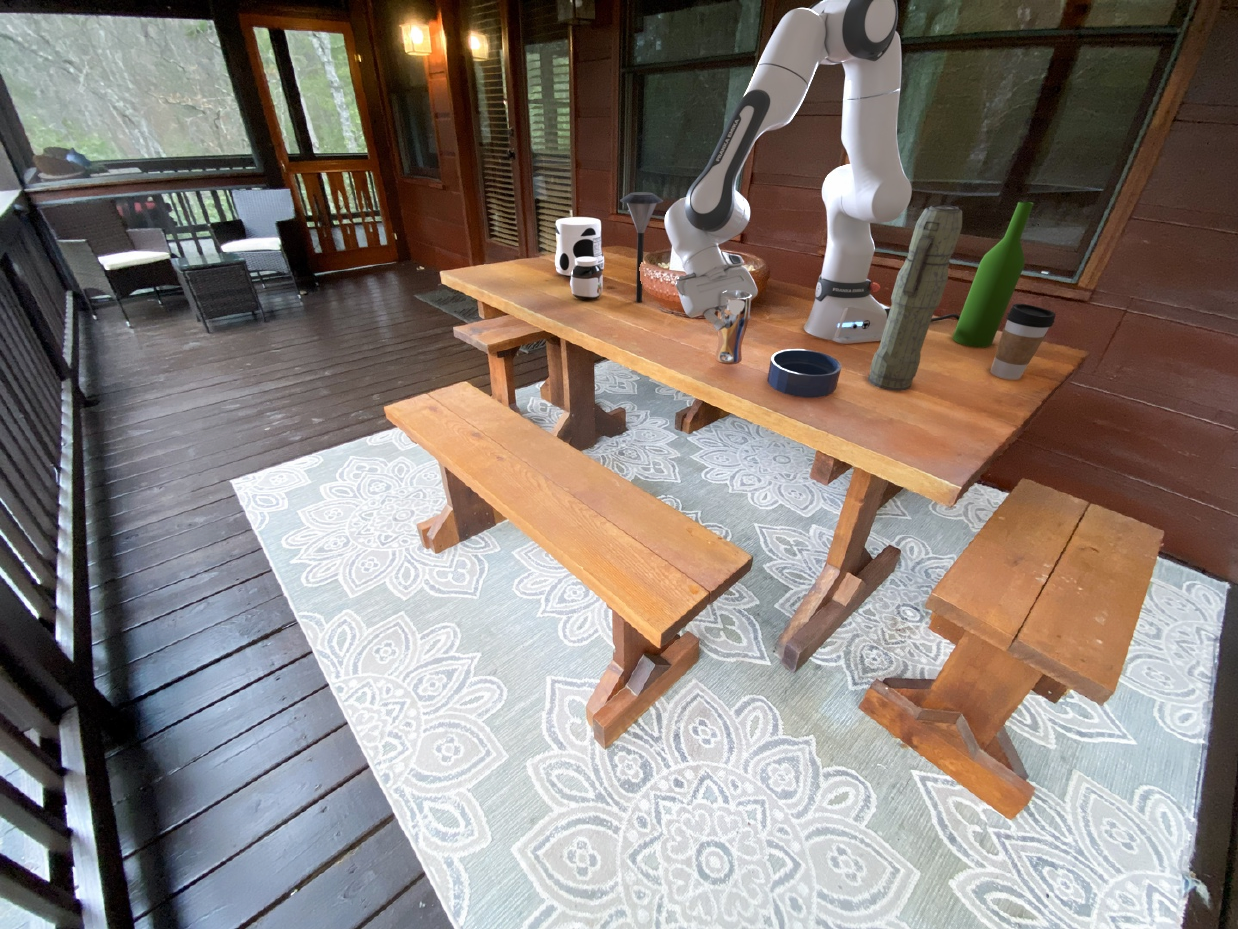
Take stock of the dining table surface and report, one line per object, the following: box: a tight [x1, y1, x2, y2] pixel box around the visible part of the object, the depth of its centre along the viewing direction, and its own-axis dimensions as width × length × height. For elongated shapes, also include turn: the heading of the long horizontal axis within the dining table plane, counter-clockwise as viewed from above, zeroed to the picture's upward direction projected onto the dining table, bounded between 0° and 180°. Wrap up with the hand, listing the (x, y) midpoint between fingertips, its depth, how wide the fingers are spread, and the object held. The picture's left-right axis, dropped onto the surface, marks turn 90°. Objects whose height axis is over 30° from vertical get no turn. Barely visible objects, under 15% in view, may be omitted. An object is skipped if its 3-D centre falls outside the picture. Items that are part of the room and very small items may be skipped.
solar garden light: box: [619, 191, 664, 303], centre depth 156 cm, size 12×12×30 cm
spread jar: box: [569, 257, 604, 302], centre depth 166 cm, size 12×11×12 cm
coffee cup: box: [989, 303, 1056, 381], centre depth 116 cm, size 8×8×15 cm
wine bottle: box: [952, 201, 1035, 348], centre depth 128 cm, size 9×9×32 cm
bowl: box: [766, 348, 842, 399], centre depth 113 cm, size 14×14×6 cm
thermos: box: [867, 204, 963, 392], centre depth 107 cm, size 9×12×35 cm
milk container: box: [554, 216, 605, 279], centre depth 184 cm, size 17×17×18 cm
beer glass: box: [714, 290, 752, 365], centre depth 118 cm, size 7×7×15 cm
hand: (734, 324), depth 118 cm, fingers closed on beer glass, 7 cm apart
